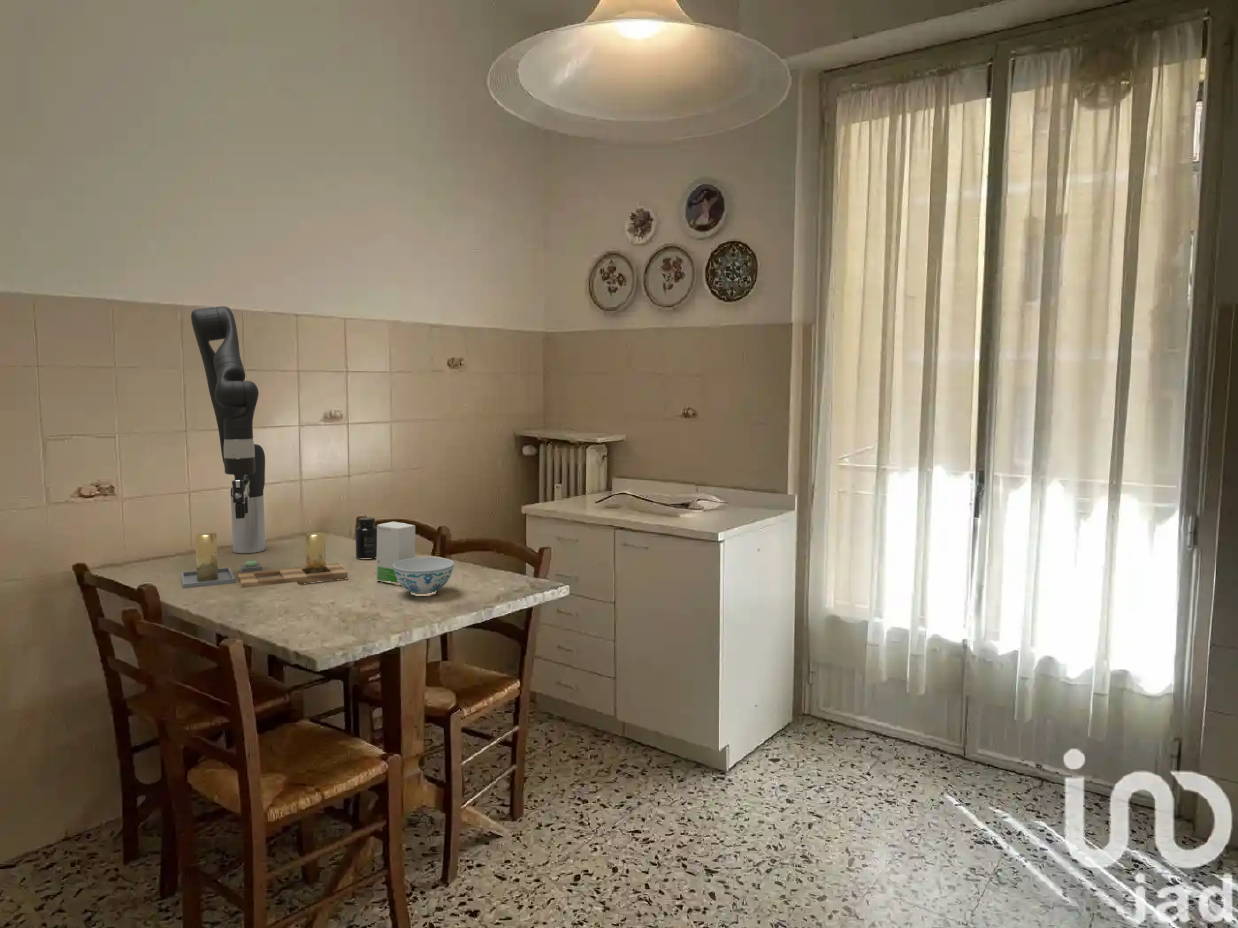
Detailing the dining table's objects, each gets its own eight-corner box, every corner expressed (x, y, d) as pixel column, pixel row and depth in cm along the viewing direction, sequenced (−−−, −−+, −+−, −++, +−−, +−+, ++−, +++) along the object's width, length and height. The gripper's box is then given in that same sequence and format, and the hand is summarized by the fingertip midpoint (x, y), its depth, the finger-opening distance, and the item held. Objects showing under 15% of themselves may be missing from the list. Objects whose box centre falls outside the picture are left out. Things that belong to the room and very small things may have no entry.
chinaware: (383, 591, 209) (383, 562, 209) (436, 582, 219) (436, 554, 218) (410, 604, 198) (409, 573, 197) (464, 594, 208) (464, 564, 207)
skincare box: (375, 582, 219) (374, 524, 217) (393, 576, 225) (392, 520, 223) (399, 586, 215) (398, 527, 213) (416, 580, 221) (415, 523, 219)
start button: (245, 565, 225) (244, 561, 225) (256, 564, 226) (255, 560, 226) (246, 567, 223) (246, 563, 222) (257, 566, 224) (257, 562, 224)
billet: (196, 578, 217) (194, 533, 215) (217, 576, 219) (215, 531, 218) (197, 582, 212) (195, 536, 211) (219, 580, 215) (217, 535, 213)
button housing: (240, 573, 226) (240, 565, 225) (260, 571, 228) (259, 563, 228) (242, 577, 221) (242, 568, 221) (262, 575, 224) (262, 566, 224)
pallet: (237, 580, 218) (237, 573, 218) (338, 569, 231) (338, 562, 231) (242, 591, 208) (242, 583, 208) (347, 579, 221) (347, 572, 221)
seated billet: (305, 576, 224) (303, 533, 222) (324, 574, 226) (322, 531, 225) (308, 580, 219) (307, 536, 218) (327, 578, 222) (326, 534, 221)
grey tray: (180, 579, 219) (180, 572, 218) (230, 574, 225) (230, 567, 225) (183, 591, 207) (183, 584, 206) (235, 586, 213) (235, 578, 213)
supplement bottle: (383, 555, 250) (382, 516, 249) (374, 560, 244) (373, 520, 242) (361, 554, 251) (360, 516, 250) (351, 559, 244) (351, 520, 243)
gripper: (227, 454, 224) (229, 512, 226) (220, 458, 211) (223, 520, 212) (257, 453, 227) (259, 511, 228) (252, 457, 213) (254, 519, 215)
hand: (242, 515), depth 220 cm, fingers open, 8 cm apart
